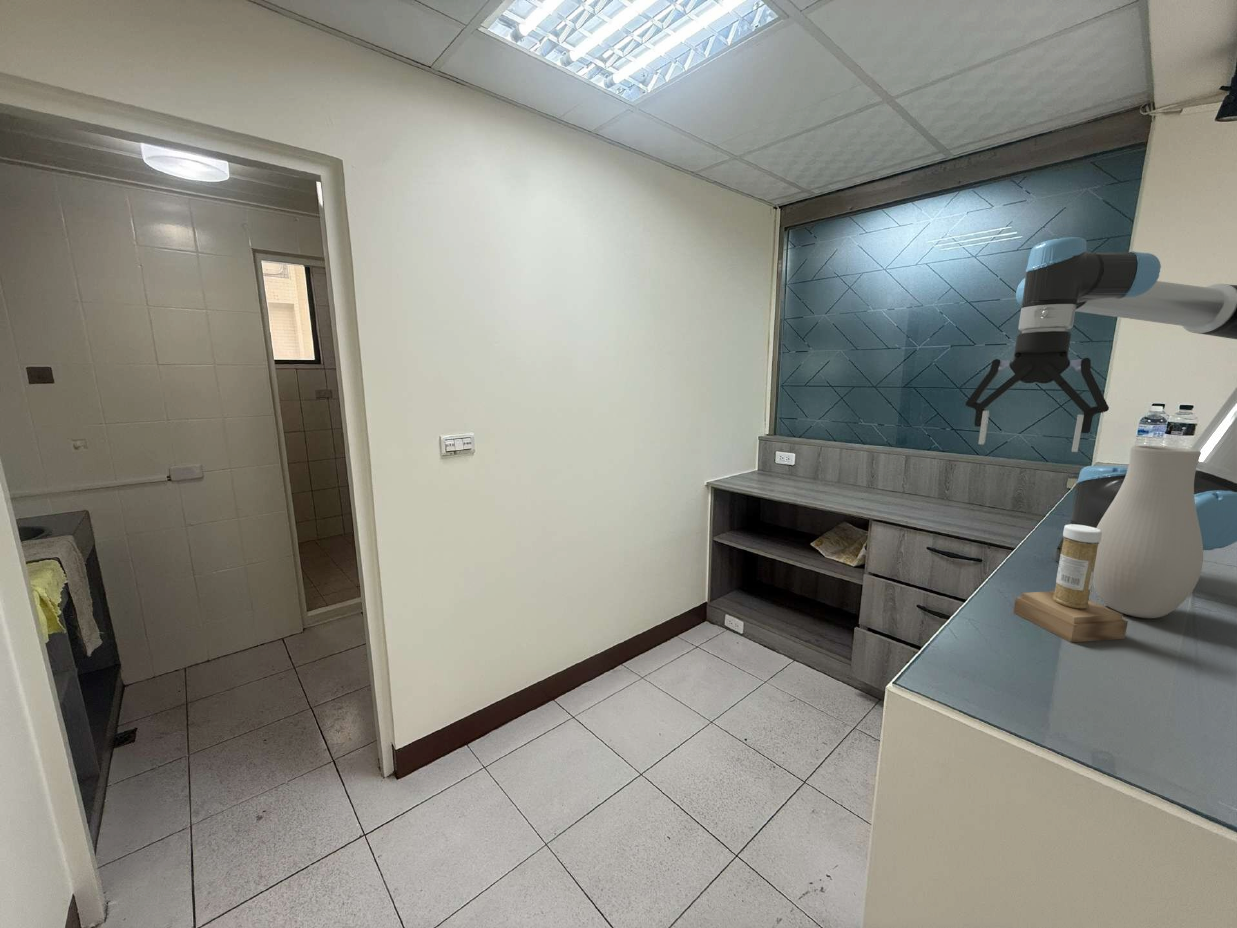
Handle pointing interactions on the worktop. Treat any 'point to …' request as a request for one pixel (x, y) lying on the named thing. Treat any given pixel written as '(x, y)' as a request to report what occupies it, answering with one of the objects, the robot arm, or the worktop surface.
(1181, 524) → the vase
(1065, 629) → the pedestal
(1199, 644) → the worktop surface
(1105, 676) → the worktop surface
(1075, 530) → the sprinkles bottle
